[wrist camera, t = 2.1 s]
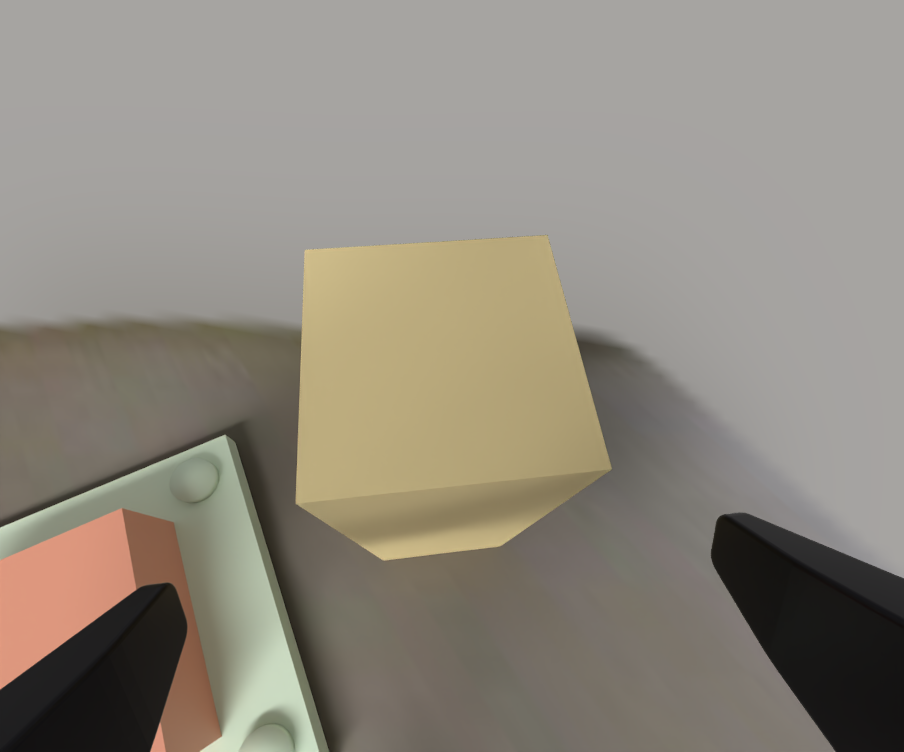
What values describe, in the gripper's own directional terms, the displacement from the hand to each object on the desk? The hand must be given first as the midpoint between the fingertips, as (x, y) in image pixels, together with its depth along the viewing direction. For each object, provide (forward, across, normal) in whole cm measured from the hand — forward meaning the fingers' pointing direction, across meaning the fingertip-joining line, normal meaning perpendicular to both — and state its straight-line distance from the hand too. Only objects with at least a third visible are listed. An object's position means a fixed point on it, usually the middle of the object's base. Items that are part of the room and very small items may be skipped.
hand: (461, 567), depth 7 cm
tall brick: (+10, 0, +5) cm, 11 cm away
